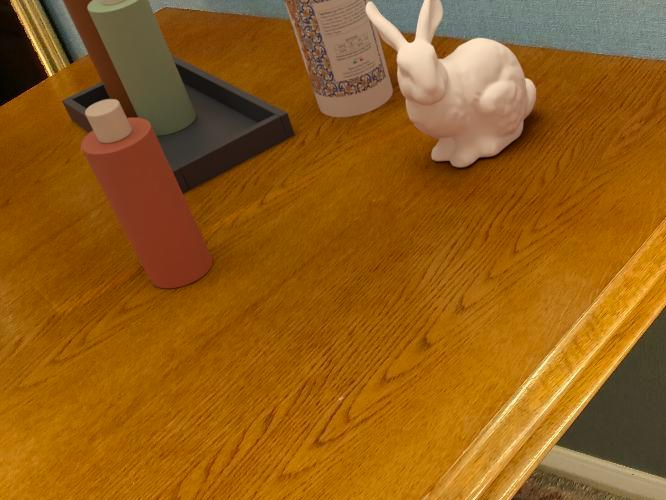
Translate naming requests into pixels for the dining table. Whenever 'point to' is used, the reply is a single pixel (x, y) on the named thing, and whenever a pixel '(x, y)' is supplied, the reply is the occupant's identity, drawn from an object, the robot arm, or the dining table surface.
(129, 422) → the dining table surface
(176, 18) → the dining table surface
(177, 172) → the tray
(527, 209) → the dining table surface
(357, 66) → the bath foam
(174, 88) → the sage bottle
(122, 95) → the amber bottle
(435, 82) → the rabbit
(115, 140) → the terracotta bottle
